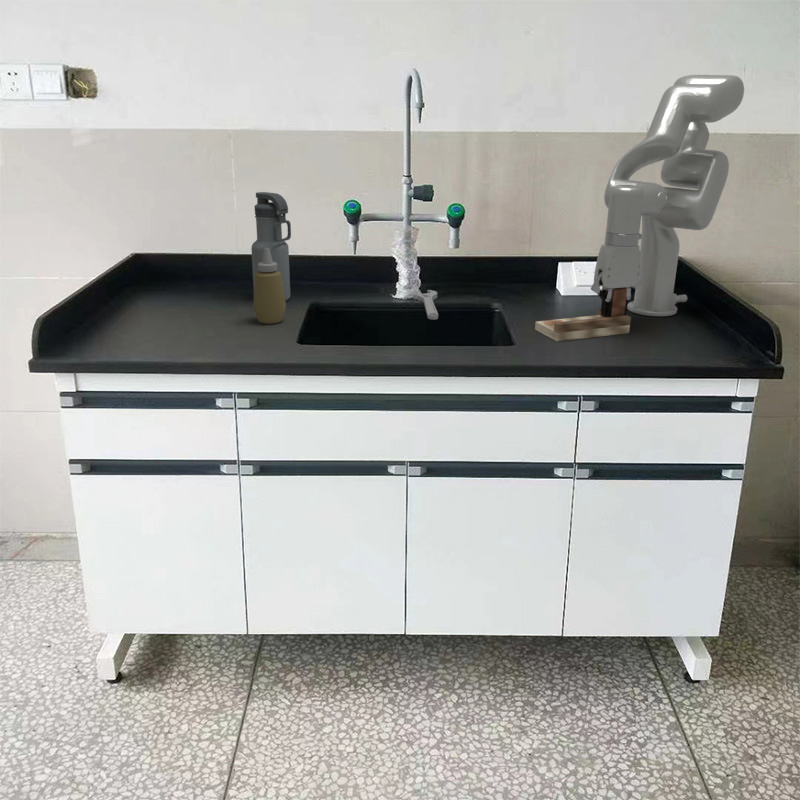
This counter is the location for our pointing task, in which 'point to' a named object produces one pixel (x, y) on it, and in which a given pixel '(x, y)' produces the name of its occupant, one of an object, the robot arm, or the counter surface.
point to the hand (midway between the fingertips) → (613, 314)
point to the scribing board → (578, 334)
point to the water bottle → (272, 235)
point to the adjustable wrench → (428, 303)
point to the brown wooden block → (617, 302)
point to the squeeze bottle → (268, 291)
